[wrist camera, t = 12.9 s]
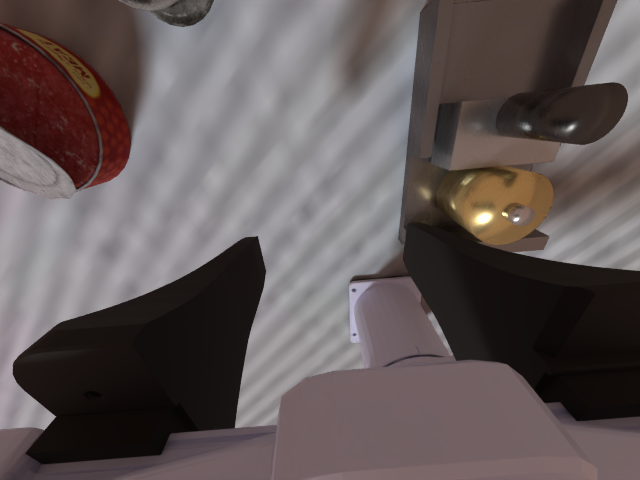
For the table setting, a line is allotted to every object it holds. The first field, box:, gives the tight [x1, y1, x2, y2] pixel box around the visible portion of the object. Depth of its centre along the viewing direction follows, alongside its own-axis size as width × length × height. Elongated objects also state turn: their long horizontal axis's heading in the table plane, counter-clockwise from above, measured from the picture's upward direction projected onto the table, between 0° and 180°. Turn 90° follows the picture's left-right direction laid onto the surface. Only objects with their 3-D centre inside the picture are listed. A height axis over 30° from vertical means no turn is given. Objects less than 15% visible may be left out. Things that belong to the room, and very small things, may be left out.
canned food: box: [0, 23, 131, 199], centre depth 14 cm, size 11×10×10 cm
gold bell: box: [436, 166, 554, 245], centre depth 17 cm, size 5×5×6 cm
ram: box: [431, 83, 628, 170], centre depth 14 cm, size 4×7×7 cm, turn 94°
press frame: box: [399, 0, 617, 252], centre depth 17 cm, size 16×10×4 cm, turn 4°
